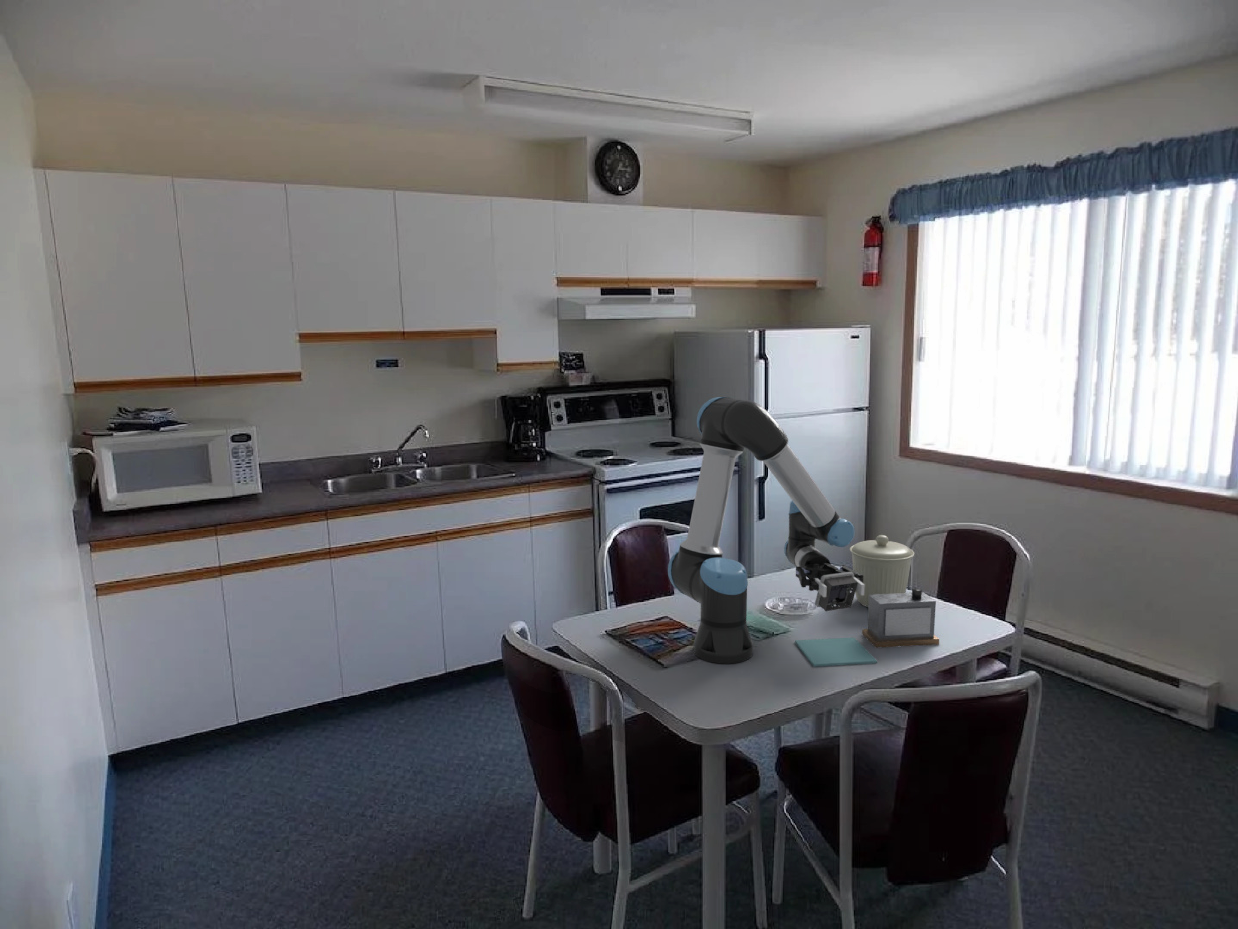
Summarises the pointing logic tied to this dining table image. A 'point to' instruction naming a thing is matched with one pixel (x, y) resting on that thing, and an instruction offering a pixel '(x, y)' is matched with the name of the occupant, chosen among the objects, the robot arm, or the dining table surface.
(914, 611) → the junction box
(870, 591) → the canister
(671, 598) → the dining table surface
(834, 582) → the electrical switch
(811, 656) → the service mat
